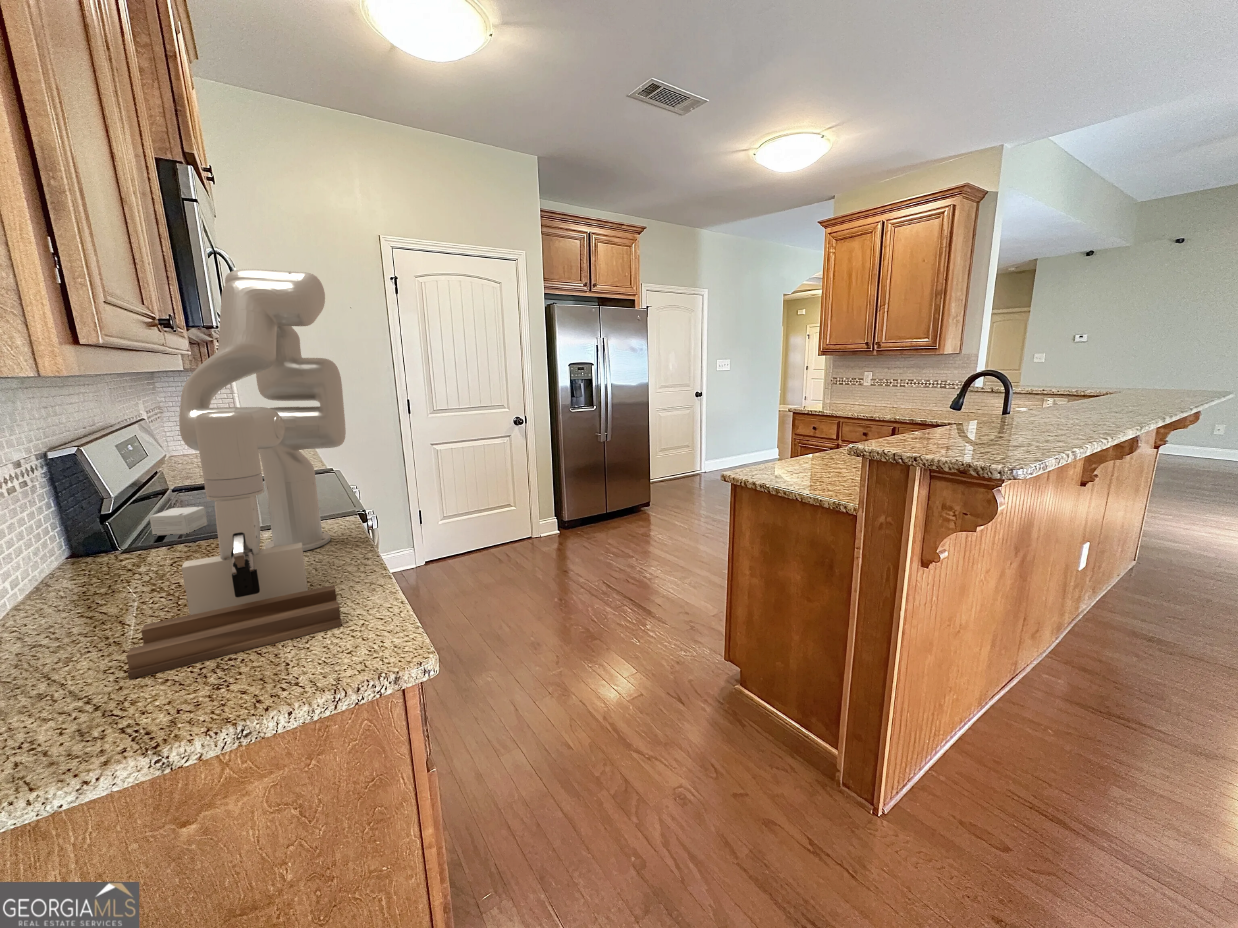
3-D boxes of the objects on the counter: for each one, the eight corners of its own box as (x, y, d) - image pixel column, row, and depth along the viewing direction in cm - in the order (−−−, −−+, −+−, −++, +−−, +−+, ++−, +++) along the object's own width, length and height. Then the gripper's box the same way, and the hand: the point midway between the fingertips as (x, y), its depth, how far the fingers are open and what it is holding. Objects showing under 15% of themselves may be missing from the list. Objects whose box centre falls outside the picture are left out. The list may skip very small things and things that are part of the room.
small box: (174, 526, 126) (171, 507, 125) (208, 524, 127) (205, 506, 126) (151, 536, 118) (147, 516, 118) (187, 534, 120) (184, 514, 119)
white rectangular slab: (194, 612, 80) (184, 561, 79) (307, 588, 89) (301, 542, 87) (190, 620, 78) (181, 567, 76) (308, 595, 87) (302, 547, 85)
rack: (149, 640, 72) (145, 622, 71) (336, 599, 85) (334, 583, 84) (129, 679, 63) (124, 658, 62) (341, 625, 76) (339, 608, 75)
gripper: (212, 480, 85) (227, 572, 88) (196, 500, 70) (215, 610, 73) (265, 475, 89) (277, 563, 92) (260, 493, 75) (275, 597, 78)
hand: (249, 584), depth 83 cm, fingers open, 9 cm apart
